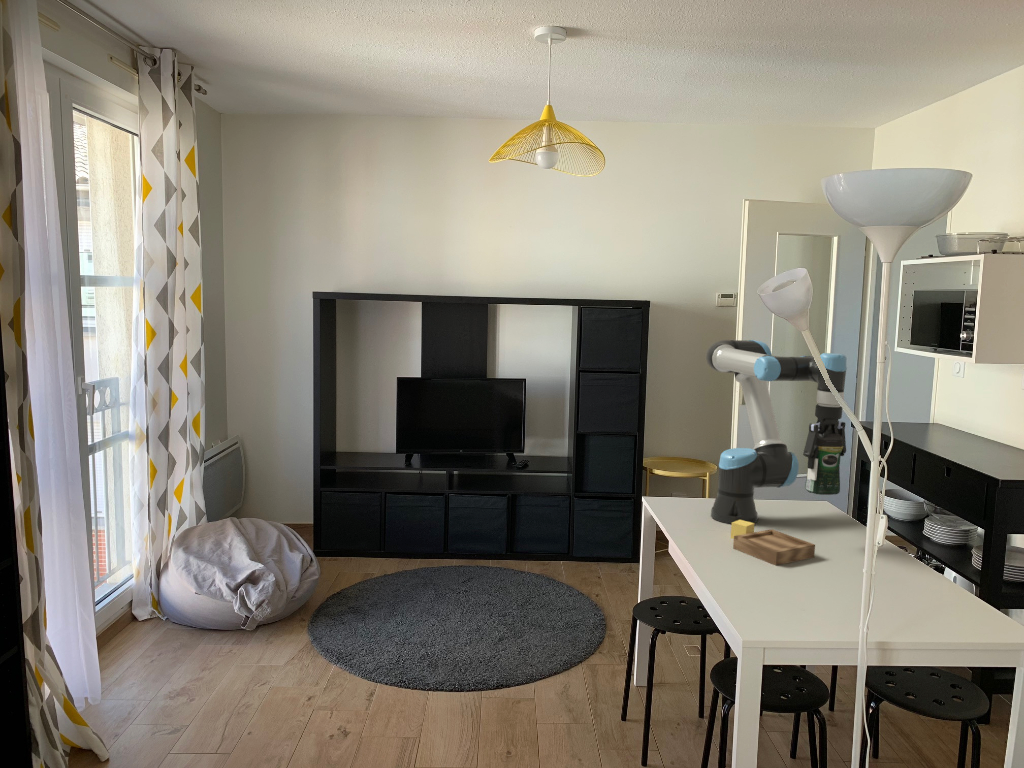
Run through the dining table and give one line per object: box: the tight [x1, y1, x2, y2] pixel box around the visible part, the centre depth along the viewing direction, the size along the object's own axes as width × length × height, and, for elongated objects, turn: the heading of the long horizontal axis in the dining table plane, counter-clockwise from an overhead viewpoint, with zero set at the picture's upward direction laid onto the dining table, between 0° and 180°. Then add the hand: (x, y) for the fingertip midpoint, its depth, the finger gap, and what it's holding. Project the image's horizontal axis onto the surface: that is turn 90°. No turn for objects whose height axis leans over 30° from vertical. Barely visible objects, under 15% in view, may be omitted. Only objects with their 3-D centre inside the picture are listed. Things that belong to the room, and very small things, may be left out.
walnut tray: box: [732, 528, 816, 566], centre depth 231 cm, size 16×16×4 cm
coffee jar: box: [804, 433, 843, 496], centre depth 240 cm, size 10×8×19 cm
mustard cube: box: [730, 520, 756, 540], centre depth 244 cm, size 5×5×5 cm
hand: (822, 477), depth 240 cm, fingers closed on coffee jar, 9 cm apart
